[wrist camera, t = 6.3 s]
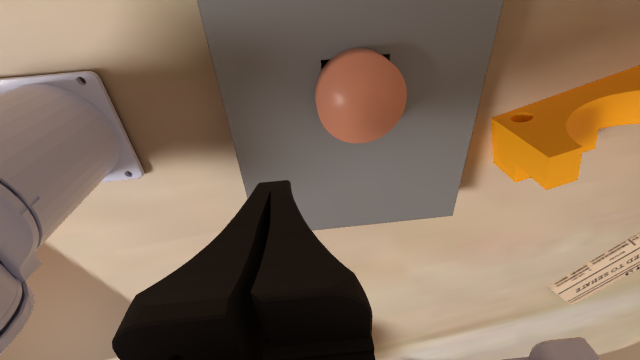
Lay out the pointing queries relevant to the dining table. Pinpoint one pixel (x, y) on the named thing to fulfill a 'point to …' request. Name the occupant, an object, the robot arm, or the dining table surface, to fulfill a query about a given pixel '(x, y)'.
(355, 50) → the knob
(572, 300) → the newspaper
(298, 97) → the plate
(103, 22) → the dining table surface
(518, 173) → the pipe clamp
